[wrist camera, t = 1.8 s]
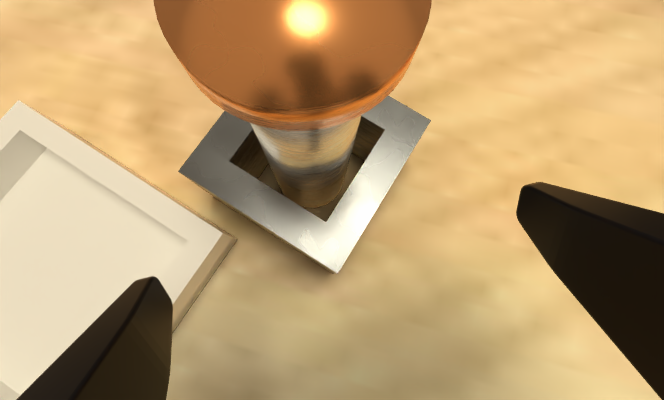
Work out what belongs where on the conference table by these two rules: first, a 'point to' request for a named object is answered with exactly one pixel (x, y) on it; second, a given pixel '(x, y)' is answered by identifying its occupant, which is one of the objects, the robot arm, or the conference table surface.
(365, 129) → the block
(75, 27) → the conference table surface
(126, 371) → the robot arm
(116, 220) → the tray
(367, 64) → the hitch pin
